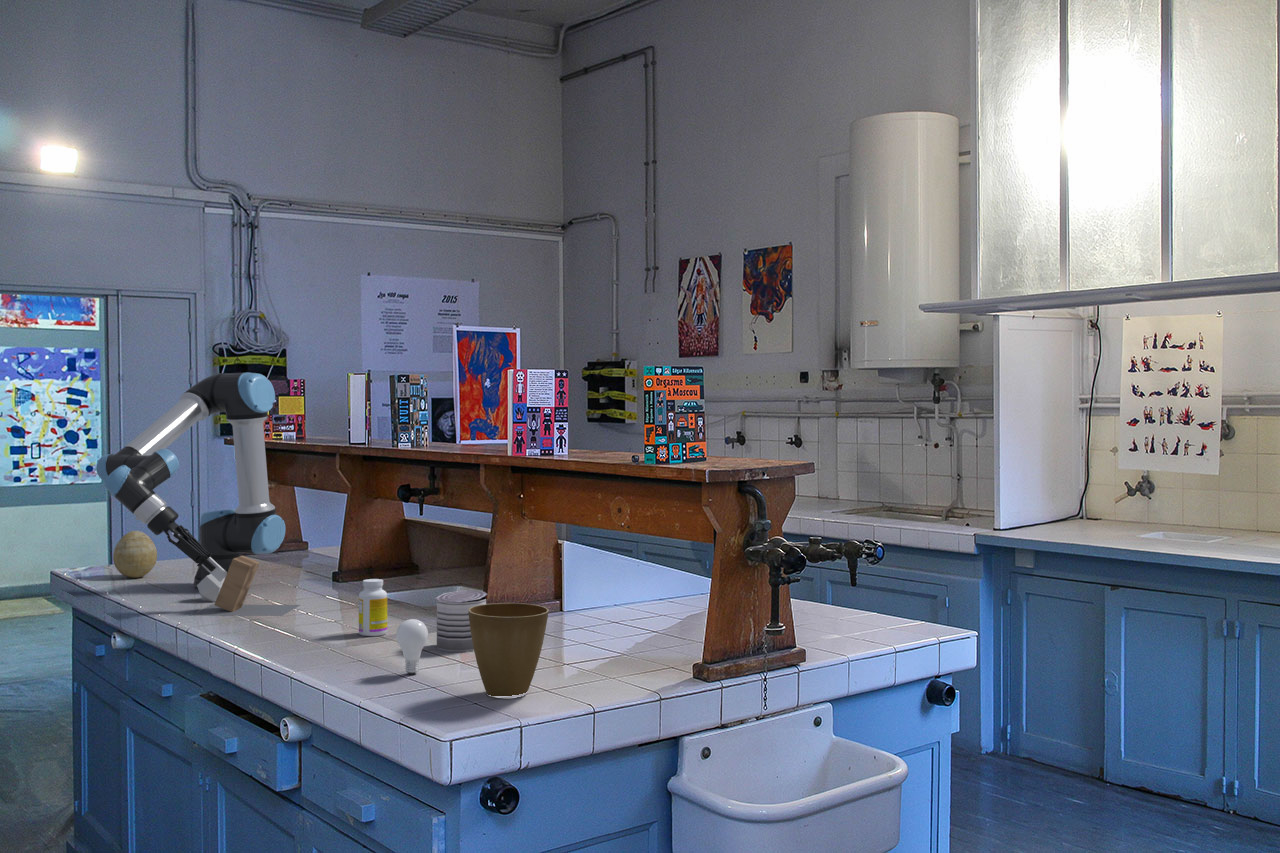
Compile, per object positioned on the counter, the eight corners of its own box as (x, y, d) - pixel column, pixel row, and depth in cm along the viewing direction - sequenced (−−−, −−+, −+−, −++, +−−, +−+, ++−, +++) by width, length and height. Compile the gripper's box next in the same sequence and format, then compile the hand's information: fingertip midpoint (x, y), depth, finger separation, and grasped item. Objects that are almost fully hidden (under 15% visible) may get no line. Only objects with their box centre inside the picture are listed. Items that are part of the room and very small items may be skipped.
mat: (212, 606, 293) (212, 604, 293) (301, 606, 293) (301, 604, 293) (188, 617, 277) (188, 615, 277) (282, 617, 277) (282, 615, 277)
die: (238, 603, 302) (232, 573, 306) (225, 592, 294) (219, 562, 299) (209, 614, 301) (204, 584, 305) (196, 603, 293) (190, 573, 298)
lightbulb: (398, 670, 220) (398, 616, 220) (429, 670, 220) (429, 616, 220) (393, 677, 213) (393, 622, 213) (426, 677, 214) (426, 622, 214)
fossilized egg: (145, 580, 338) (145, 533, 337) (105, 580, 338) (105, 532, 338) (164, 575, 350) (164, 528, 350) (125, 574, 350) (125, 528, 350)
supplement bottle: (392, 632, 259) (393, 579, 259) (377, 637, 252) (377, 583, 252) (368, 630, 261) (369, 577, 261) (352, 635, 255) (353, 581, 254)
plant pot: (481, 708, 191) (481, 618, 191) (458, 689, 205) (458, 605, 205) (559, 699, 198) (560, 612, 198) (532, 681, 211) (533, 600, 211)
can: (494, 648, 241) (495, 595, 241) (447, 654, 235) (447, 599, 235) (474, 639, 251) (474, 588, 251) (427, 645, 245) (428, 592, 245)
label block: (223, 600, 288) (241, 555, 288) (241, 607, 288) (259, 562, 288) (213, 604, 281) (232, 558, 281) (232, 612, 281) (250, 566, 281)
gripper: (152, 523, 287) (218, 584, 290) (139, 528, 274) (208, 592, 278) (173, 503, 288) (239, 564, 291) (161, 507, 275) (230, 571, 278)
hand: (224, 577), depth 284 cm, fingers closed
